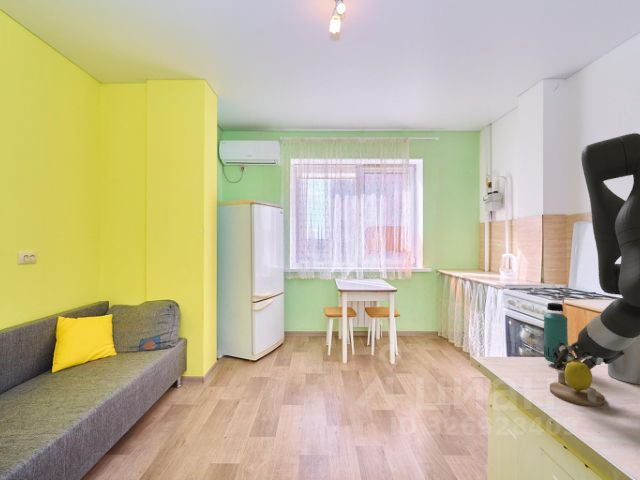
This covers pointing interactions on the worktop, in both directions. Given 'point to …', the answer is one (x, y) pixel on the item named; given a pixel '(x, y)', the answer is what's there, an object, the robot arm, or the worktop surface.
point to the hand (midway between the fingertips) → (570, 366)
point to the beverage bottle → (554, 330)
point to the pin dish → (576, 393)
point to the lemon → (578, 376)
